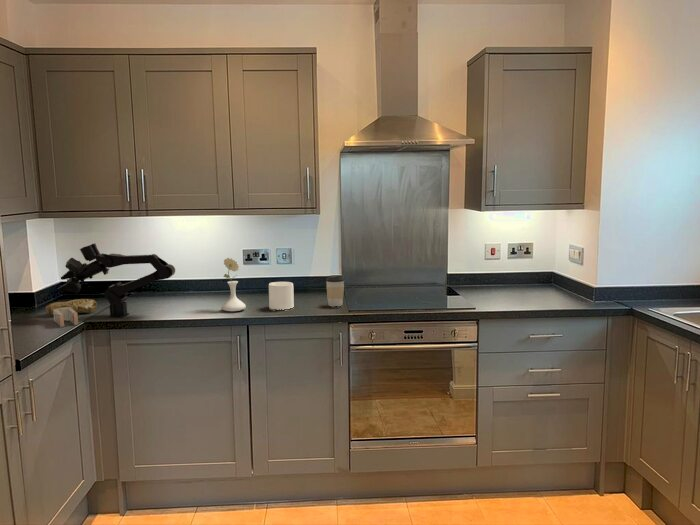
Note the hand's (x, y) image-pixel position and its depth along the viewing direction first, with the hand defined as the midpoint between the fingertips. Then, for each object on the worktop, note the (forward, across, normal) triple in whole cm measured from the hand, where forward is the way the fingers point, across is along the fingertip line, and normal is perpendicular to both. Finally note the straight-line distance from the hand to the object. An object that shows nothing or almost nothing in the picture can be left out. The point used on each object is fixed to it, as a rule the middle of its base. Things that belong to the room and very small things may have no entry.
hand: (59, 284), depth 248 cm
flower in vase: (-63, +15, +43) cm, 77 cm away
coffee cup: (-108, +20, +63) cm, 126 cm away
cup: (-84, +17, +52) cm, 100 cm away
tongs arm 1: (+2, +19, +8) cm, 21 cm away
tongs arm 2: (-2, +17, +11) cm, 21 cm away
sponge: (+5, 0, +16) cm, 17 cm away
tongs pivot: (+4, +12, +11) cm, 17 cm away
